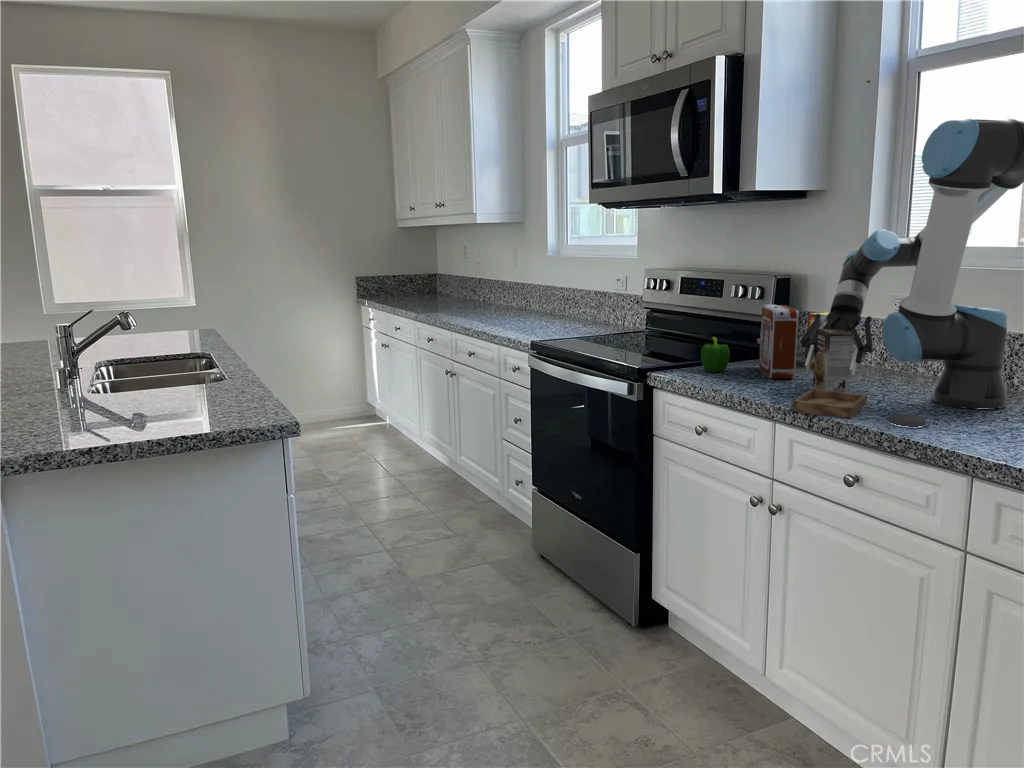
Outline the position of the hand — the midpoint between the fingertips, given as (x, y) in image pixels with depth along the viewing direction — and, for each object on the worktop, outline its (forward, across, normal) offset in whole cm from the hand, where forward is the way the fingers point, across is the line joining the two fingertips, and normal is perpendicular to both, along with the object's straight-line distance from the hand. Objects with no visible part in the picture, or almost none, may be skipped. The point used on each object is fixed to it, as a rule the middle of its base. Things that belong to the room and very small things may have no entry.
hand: (828, 370), depth 189 cm
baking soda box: (-24, +11, -34) cm, 43 cm away
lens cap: (+18, -21, +9) cm, 29 cm away
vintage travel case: (-10, +20, -20) cm, 30 cm away
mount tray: (+14, -4, +5) cm, 15 cm away
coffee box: (+3, 0, -7) cm, 7 cm away
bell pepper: (-7, +36, -16) cm, 40 cm away
